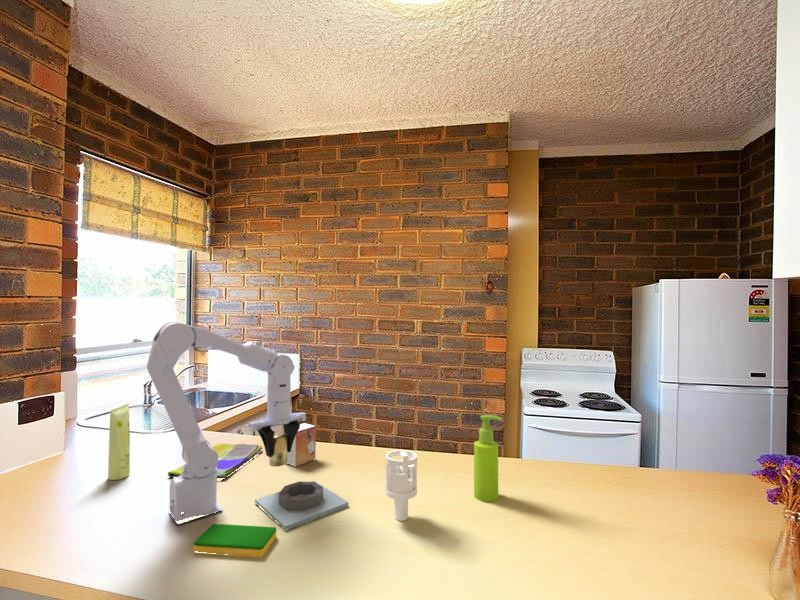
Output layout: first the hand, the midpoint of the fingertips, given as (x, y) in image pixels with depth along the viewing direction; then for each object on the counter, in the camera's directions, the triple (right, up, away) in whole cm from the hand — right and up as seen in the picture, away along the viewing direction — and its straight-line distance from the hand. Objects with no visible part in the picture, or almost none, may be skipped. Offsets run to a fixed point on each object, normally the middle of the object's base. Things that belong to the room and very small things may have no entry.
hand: (278, 453), depth 105 cm
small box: (+1, -10, +19) cm, 22 cm away
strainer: (+32, -10, -13) cm, 35 cm away
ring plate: (+8, -9, -8) cm, 14 cm away
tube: (-47, -10, +8) cm, 48 cm away
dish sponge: (-1, -10, -24) cm, 26 cm away
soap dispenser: (+53, -10, -3) cm, 54 cm away
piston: (0, -3, 0) cm, 3 cm away
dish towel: (-23, -10, +18) cm, 31 cm away
